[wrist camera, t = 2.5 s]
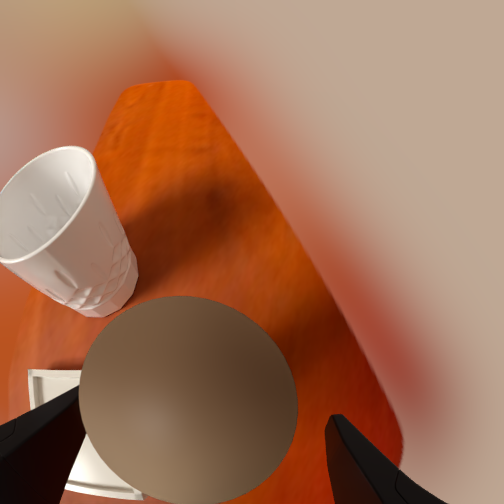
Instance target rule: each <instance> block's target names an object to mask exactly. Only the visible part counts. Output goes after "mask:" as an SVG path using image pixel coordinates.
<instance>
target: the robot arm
mask: <svg viewBox="0 0 504 504" xmlns="http://www.w3.org/2000/svg"><path fill="white" fill-rule="evenodd" d="M86 434H87V433H86V430H85V427H84V424H83V421H82V417H81V412H80V406H79V385H78V386H76V387H74V388H72V389H70V390H68V391H67V392H65V393H63V394H61V395H59V396H57V397H55V398H53V399H52V400H50V401H48V402H46V403H44V404H42V405H40V406H38V407H36V408H34V409H33V410H31V411H29V412H27V413H25V414H23V415H21V416H19V417H17V419H16V418H15V419H13V420H11V421H9V422H7V423H5V424H3V425H0V504H59V503H60V500H61V497H62V494H63V492H64V489H65V486H66V484H67V481H68V478H69V476H70V473H71V471H72V468H73V466H74V463H75V461H76V458H77V456H78V453H79V451H80V448H81V446H82V444H83V441H84V439H85V437H86ZM325 442H326V455H327V466H328V472H329V477H330V481H331V486H332V491H333V496H334V501H335V504H447V503H445V502H444V501H442V500H440V499H438V498H437V497H435V496H434V495H433V494H431V493H429V492H428V491H426V490H425V489H423V488H422V487H421V486H419V485H418V484H416V483H415V482H414V481H413V480H411V479H410V478H409V477H408V476H407V475H405V474H404V473H403V472H402V471H401V470H399V468H398V467H397V466H395V465H394V464H393V463H392V462H391V461H390V460H389V459H388V458H387V457H386V456H385V455H384V454H383V453H382V452H380V451H379V450H378V449H377V448H376V447H375V446H374V445H373V444H372V443H371V442H370V441H369V440H368V439H367V438H366V437H365V436H364V435H363V434H362V433H361V432H360V431H359V430H358V429H357V428H356V427H355V426H354V425H353V424H352V423H351V422H350V421H349V420H348V419H347V418H346V417H345V416H343V415H342V414H333V415H331V416H330V418H329V420H328V423H327V425H326V428H325Z"/></svg>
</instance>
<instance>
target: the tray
mask: <svg viewBox="0 0 504 504" xmlns="http://www.w3.org/2000/svg"><path fill="white" fill-rule="evenodd" d="M81 371H82V370H34V369H28V383H29V396H30V407H31V410H33V409H34V408H36V407H38V406H40V405H42V404H44V403H46V402H48V401H50V400H52V399H53V398H55V397H57V396H59V395H61V394H63V393H65V392H67V391H68V390H70V389H72V388H74V387H76V386H78V385H79V382H80V376H81ZM65 489H67V490H72V491H76V492H81V493H86V494H92V495H98V496H104V497H112V498H120V499H131V500H145V499H146V498H147V497H148V496H149V495H146V494H144V493H142V492H140V491H139V490H137V489H135V488H133V487H132V486H130V485H129V484H127V483H126V482H125V481H123V480H122V479H121V478H119V477H118V476H117V475H116V474H115V473H114V472H113V471H112V470H111V469H110V468H109V467H108V466H107V465H106V464H105V463H104V461H103V460H102V459H101V458H100V456H99V455H98V453H97V452H96V450H95V449H94V447H93V445H92V443H91V441H90V439H89V437H88V435H87V434H86V437H85V439H84V441H83V444H82V446H81V448H80V451H79V453H78V456H77V458H76V461H75V463H74V466H73V468H72V471H71V473H70V476H69V478H68V481H67V484H66V486H65Z"/></svg>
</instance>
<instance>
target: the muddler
mask: <svg viewBox="0 0 504 504" xmlns="http://www.w3.org/2000/svg"><path fill="white" fill-rule="evenodd" d="M79 406H80V412H81V417H82V421H83V424H84V427H85V430H86V433H87V435H88V437H89V439H90V441H91V443H92V445H93V447H94V449H95V450H96V452H97V453H98V455H99V456H100V458H101V459H102V460H103V461H104V463H105V464H106V465H107V466H108V467H109V468H110V469H111V470H112V471H113V472H114V473H115V474H116V475H117V476H118V477H119V478H121V479H122V480H123V481H125V482H126V483H127V484H129V485H130V486H132V487H133V488H135V489H137V490H139V491H140V492H142V493H144V494H146V495H149V496H151V497H154V498H156V499H159V500H162V501H166V502H170V503H175V504H216V503H221V502H224V501H228V500H232V499H234V498H237V497H239V496H241V495H243V494H246V493H247V492H249V491H251V490H252V489H254V488H256V487H257V486H259V485H260V484H261V483H262V482H263V481H265V480H266V479H267V478H268V477H269V476H270V475H271V474H272V473H273V472H274V471H275V470H276V468H277V467H278V466H279V465H280V463H281V462H282V460H283V458H284V457H285V455H286V454H287V452H288V449H289V447H290V445H291V443H292V440H293V436H294V433H295V429H296V424H297V416H298V399H297V393H296V387H295V382H294V379H293V376H292V373H291V370H290V368H289V366H288V364H287V361H286V359H285V357H284V356H283V354H282V353H281V351H280V349H279V348H278V346H277V345H276V344H275V342H274V341H273V340H272V339H271V338H270V336H269V335H268V334H267V333H266V332H265V331H264V330H263V329H262V328H261V327H260V326H259V325H258V324H256V323H255V322H254V321H252V320H251V319H250V318H248V317H247V316H245V315H244V314H242V313H240V312H238V311H237V310H235V309H233V308H231V307H229V306H226V305H224V304H221V303H219V302H215V301H212V300H208V299H204V298H198V297H191V296H172V297H163V298H158V299H153V300H150V301H147V302H144V303H141V304H138V305H136V306H134V307H132V308H130V309H128V310H126V311H125V312H123V313H122V314H120V315H119V316H117V317H116V318H115V319H114V320H113V321H111V322H110V323H109V324H108V325H107V326H106V327H105V328H104V329H103V330H102V331H101V333H100V334H99V335H98V336H97V338H96V339H95V341H94V342H93V344H92V346H91V347H90V349H89V351H88V353H87V355H86V358H85V361H84V364H83V367H82V371H81V376H80V382H79Z"/></svg>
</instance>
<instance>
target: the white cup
mask: <svg viewBox="0 0 504 504" xmlns="http://www.w3.org/2000/svg"><path fill="white" fill-rule="evenodd" d="M0 263H1V264H2V265H4V266H5V267H6V268H8V269H9V270H10V271H12V272H13V273H14V274H16V275H17V276H19V277H20V278H21V279H23V280H24V281H26V282H27V283H29V284H30V285H31V286H33V287H34V288H36V289H37V290H39V291H40V292H42V293H44V294H46V295H47V296H49V297H50V298H52V299H54V300H55V301H57V302H59V303H61V304H63V305H66V306H69V307H70V308H72V309H74V310H76V311H78V312H79V313H81V314H82V315H84V316H86V317H105V316H107V315H109V314H111V313H113V312H115V311H117V310H119V309H121V308H122V306H123V305H124V304H125V303H126V302H127V300H128V299H129V298H130V297H131V296H132V294H133V292H134V289H135V286H136V282H137V279H138V276H139V275H138V267H137V259H136V256H135V254H134V253H133V251H132V249H131V247H130V245H129V243H128V240H127V237H126V234H125V231H124V229H123V227H122V225H121V223H120V220H119V217H118V215H117V212H116V210H115V208H114V205H113V203H112V201H111V199H110V196H109V194H108V192H107V189H106V187H105V184H104V182H103V180H102V177H101V175H100V172H99V169H98V167H97V164H96V161H95V159H94V157H93V155H92V154H91V153H90V152H89V151H88V150H86V149H84V148H82V147H78V146H64V147H59V148H55V149H52V150H50V151H47V152H45V153H43V154H41V155H39V156H38V157H36V158H34V159H33V160H31V161H30V162H29V163H27V164H26V165H25V166H23V167H22V168H21V169H20V170H19V171H18V172H17V173H16V174H15V175H14V176H13V177H12V178H11V179H10V180H9V181H8V183H7V184H6V185H5V187H4V188H3V189H2V191H1V192H0Z"/></svg>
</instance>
